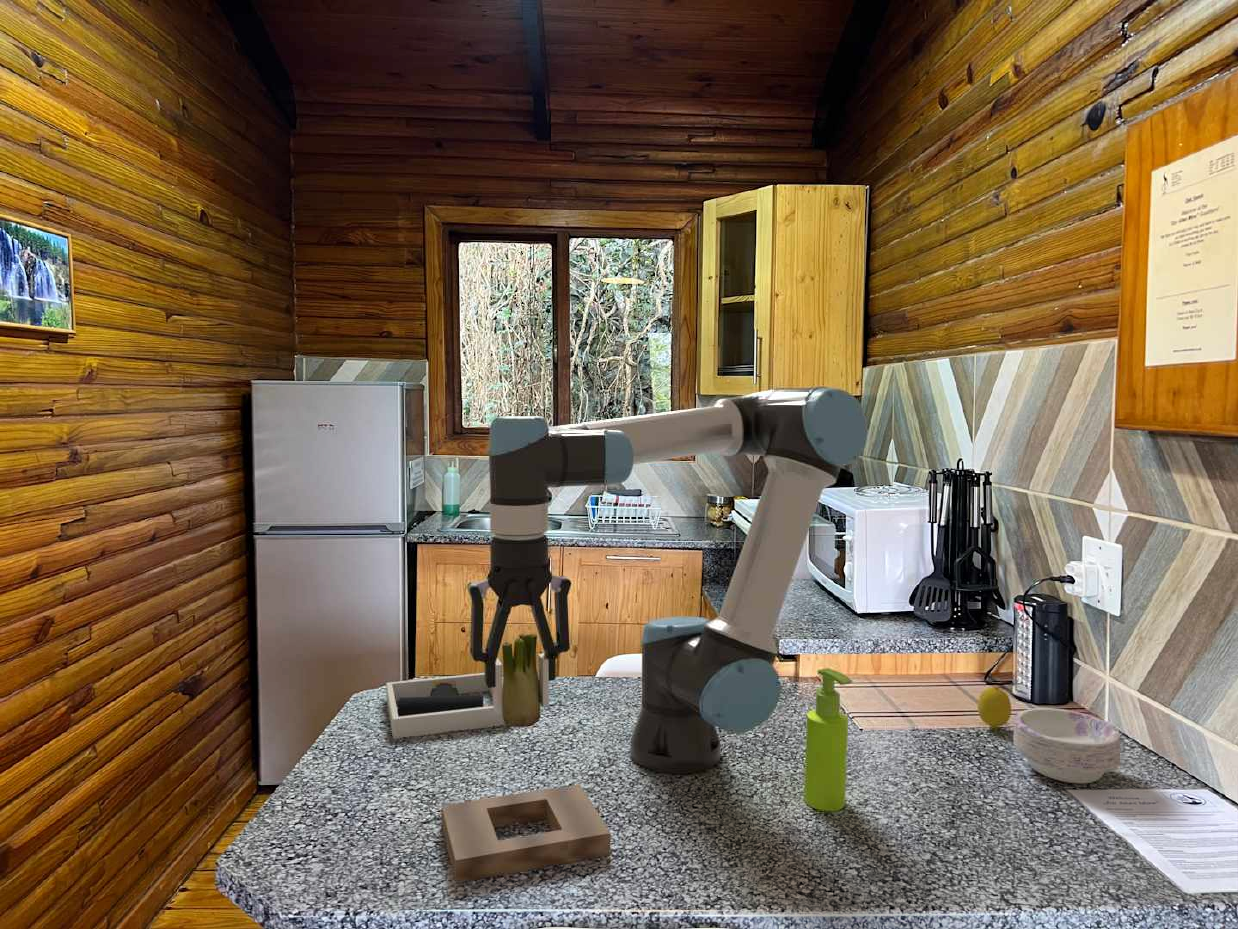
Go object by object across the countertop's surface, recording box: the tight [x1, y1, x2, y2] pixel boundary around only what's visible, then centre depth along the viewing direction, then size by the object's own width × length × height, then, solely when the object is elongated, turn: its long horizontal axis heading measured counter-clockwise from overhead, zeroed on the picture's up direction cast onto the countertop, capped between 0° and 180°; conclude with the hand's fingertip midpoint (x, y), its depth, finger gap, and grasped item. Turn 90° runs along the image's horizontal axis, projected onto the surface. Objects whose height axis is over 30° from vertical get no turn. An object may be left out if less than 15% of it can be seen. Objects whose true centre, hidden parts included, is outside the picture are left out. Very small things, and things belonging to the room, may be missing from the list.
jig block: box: [441, 783, 611, 884], centre depth 108 cm, size 20×14×3 cm
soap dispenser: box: [803, 668, 853, 812], centre depth 118 cm, size 6×7×20 cm
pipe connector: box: [397, 681, 484, 717], centre depth 150 cm, size 12×5×15 cm
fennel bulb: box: [501, 633, 541, 728], centre depth 106 cm, size 6×5×12 cm
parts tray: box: [385, 672, 507, 740], centre depth 152 cm, size 21×19×4 cm
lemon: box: [977, 685, 1012, 730], centre depth 147 cm, size 6×6×8 cm
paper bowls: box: [1012, 707, 1122, 784], centre depth 130 cm, size 15×15×8 cm
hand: (520, 706), depth 107 cm, fingers closed on fennel bulb, 5 cm apart
